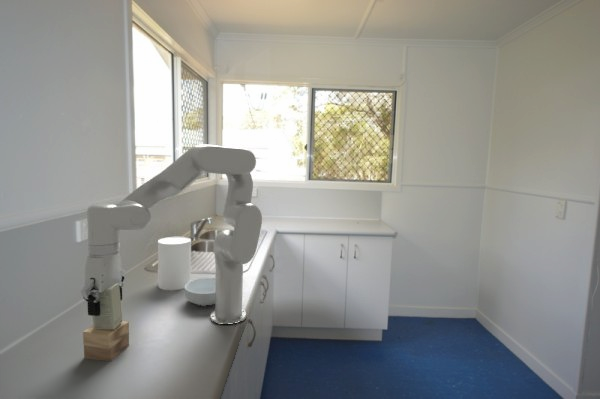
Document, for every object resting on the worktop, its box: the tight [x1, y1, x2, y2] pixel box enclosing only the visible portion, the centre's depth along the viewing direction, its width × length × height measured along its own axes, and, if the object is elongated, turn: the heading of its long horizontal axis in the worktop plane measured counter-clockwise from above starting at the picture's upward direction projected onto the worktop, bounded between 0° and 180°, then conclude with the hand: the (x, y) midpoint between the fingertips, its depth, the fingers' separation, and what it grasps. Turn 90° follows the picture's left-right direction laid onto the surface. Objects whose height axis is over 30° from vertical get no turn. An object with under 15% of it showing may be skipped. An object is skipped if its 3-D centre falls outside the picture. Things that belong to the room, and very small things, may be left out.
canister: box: [157, 236, 192, 291], centre depth 147 cm, size 14×14×20 cm
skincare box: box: [91, 283, 123, 330], centre depth 95 cm, size 6×4×12 cm
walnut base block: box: [83, 334, 130, 362], centre depth 96 cm, size 8×8×4 cm
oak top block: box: [82, 320, 130, 349], centre depth 96 cm, size 8×8×4 cm
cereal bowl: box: [183, 277, 215, 307], centre depth 132 cm, size 17×17×7 cm
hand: (106, 307), depth 95 cm, fingers open, 9 cm apart
